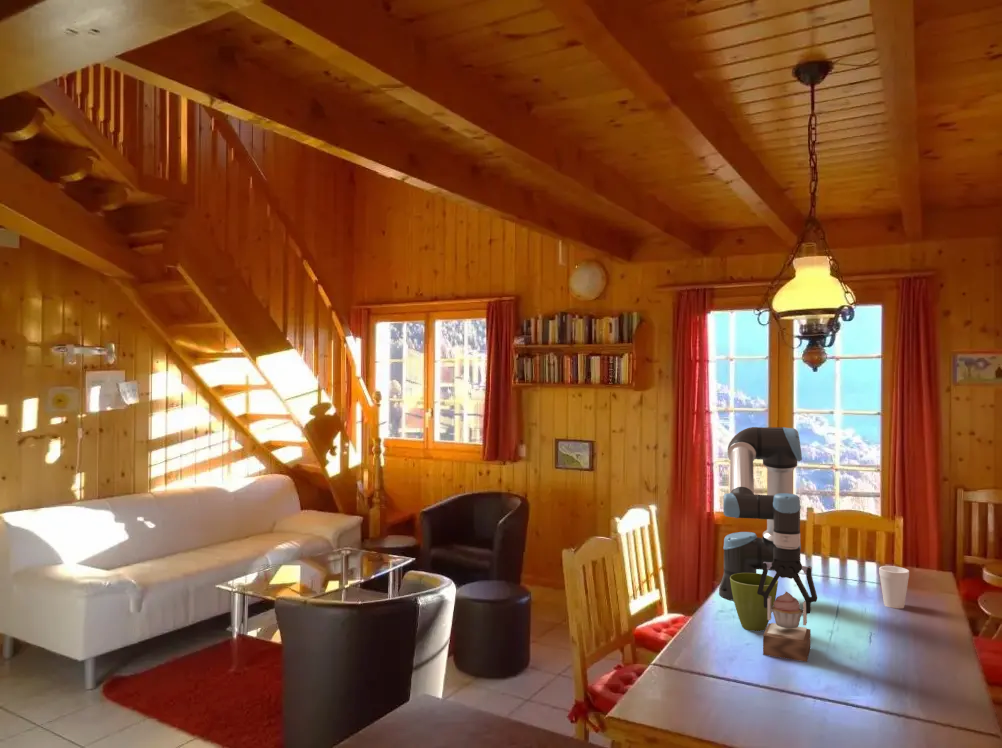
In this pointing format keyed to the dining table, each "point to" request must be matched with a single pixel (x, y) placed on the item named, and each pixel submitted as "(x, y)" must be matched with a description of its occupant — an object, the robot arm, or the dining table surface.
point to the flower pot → (751, 600)
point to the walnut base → (787, 642)
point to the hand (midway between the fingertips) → (787, 621)
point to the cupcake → (787, 611)
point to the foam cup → (894, 585)
